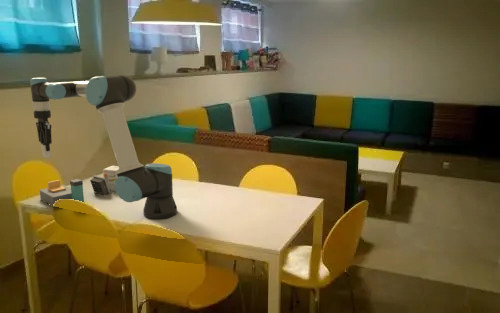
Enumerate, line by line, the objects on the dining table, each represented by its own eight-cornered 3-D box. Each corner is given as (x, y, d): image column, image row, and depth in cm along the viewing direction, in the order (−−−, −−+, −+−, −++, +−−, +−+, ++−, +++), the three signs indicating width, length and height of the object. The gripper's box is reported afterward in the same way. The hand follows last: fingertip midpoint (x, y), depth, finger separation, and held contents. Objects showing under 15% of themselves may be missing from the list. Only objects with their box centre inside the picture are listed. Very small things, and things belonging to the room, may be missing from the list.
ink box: (103, 190, 230) (102, 168, 228) (113, 185, 238) (111, 165, 235) (117, 191, 228) (116, 170, 225) (126, 187, 236) (125, 166, 233)
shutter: (66, 189, 214) (65, 182, 213) (52, 192, 209) (52, 185, 208) (60, 186, 218) (59, 179, 217) (47, 189, 214) (46, 182, 213)
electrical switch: (111, 193, 225) (108, 176, 222) (103, 197, 221) (100, 180, 218) (99, 190, 230) (96, 174, 227) (91, 193, 226) (88, 177, 223)
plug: (84, 204, 208) (82, 180, 206) (76, 206, 205) (73, 182, 203) (80, 202, 211) (78, 178, 208) (72, 204, 208) (69, 180, 205)
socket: (78, 201, 212) (77, 191, 211) (53, 207, 204) (52, 197, 203) (64, 194, 223) (63, 184, 222) (40, 199, 215) (39, 189, 214)
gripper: (56, 110, 208) (60, 158, 213) (43, 107, 218) (48, 153, 224) (40, 112, 203) (45, 160, 208) (27, 109, 213) (33, 155, 218)
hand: (46, 156), depth 216 cm, fingers open, 2 cm apart
